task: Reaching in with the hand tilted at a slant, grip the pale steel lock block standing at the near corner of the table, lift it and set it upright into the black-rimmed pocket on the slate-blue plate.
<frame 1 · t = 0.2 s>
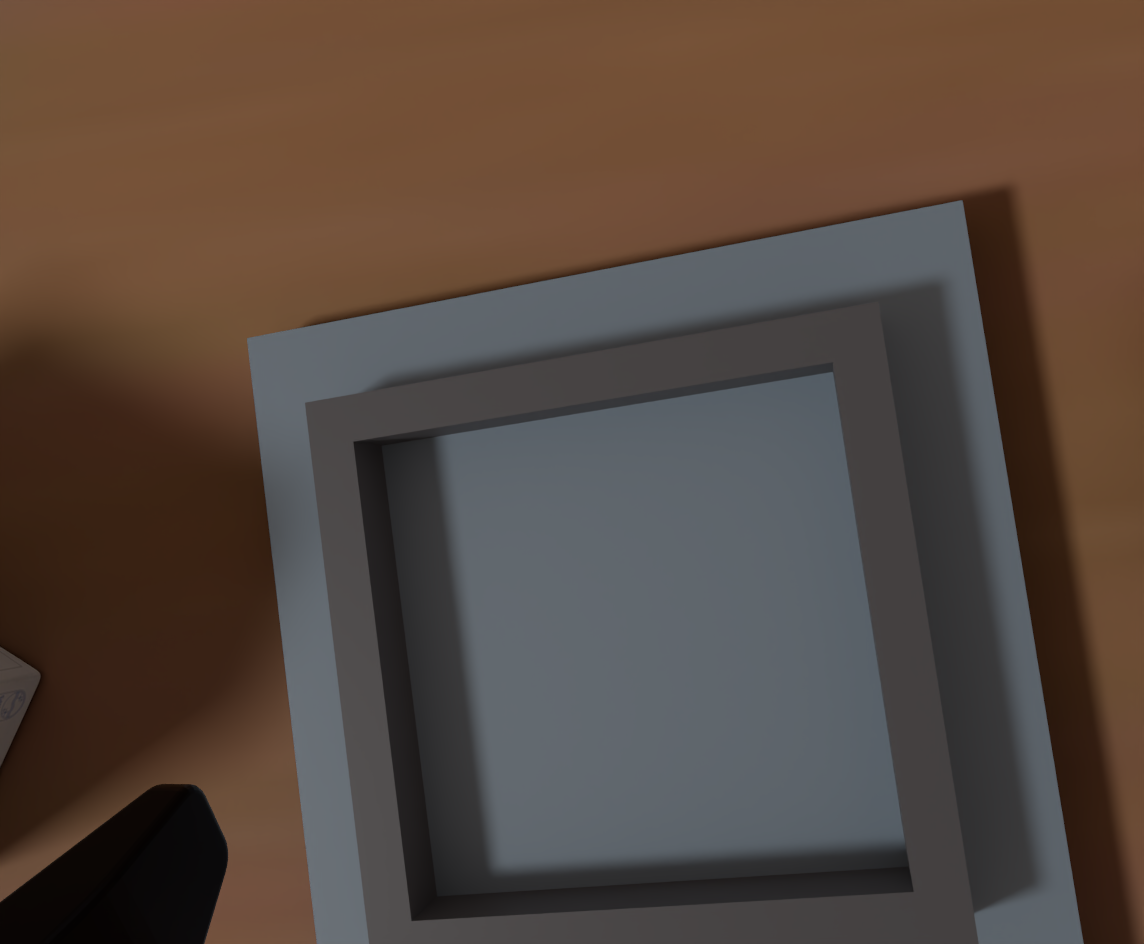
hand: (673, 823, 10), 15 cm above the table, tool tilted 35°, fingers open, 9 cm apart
dock: (638, 636, 24), on the table
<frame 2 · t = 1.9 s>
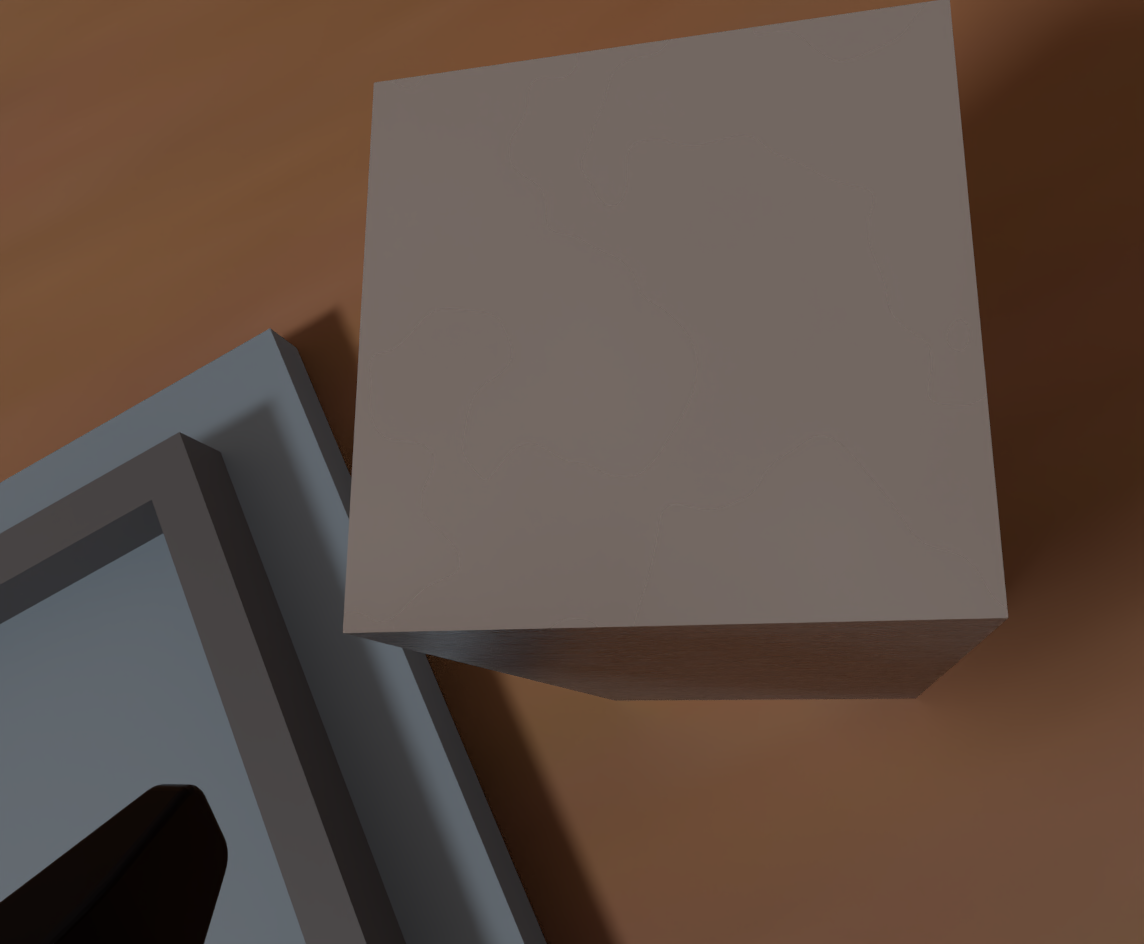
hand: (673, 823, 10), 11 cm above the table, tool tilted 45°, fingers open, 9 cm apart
lock block: (755, 552, 21), on the table
dock: (98, 849, 23), on the table
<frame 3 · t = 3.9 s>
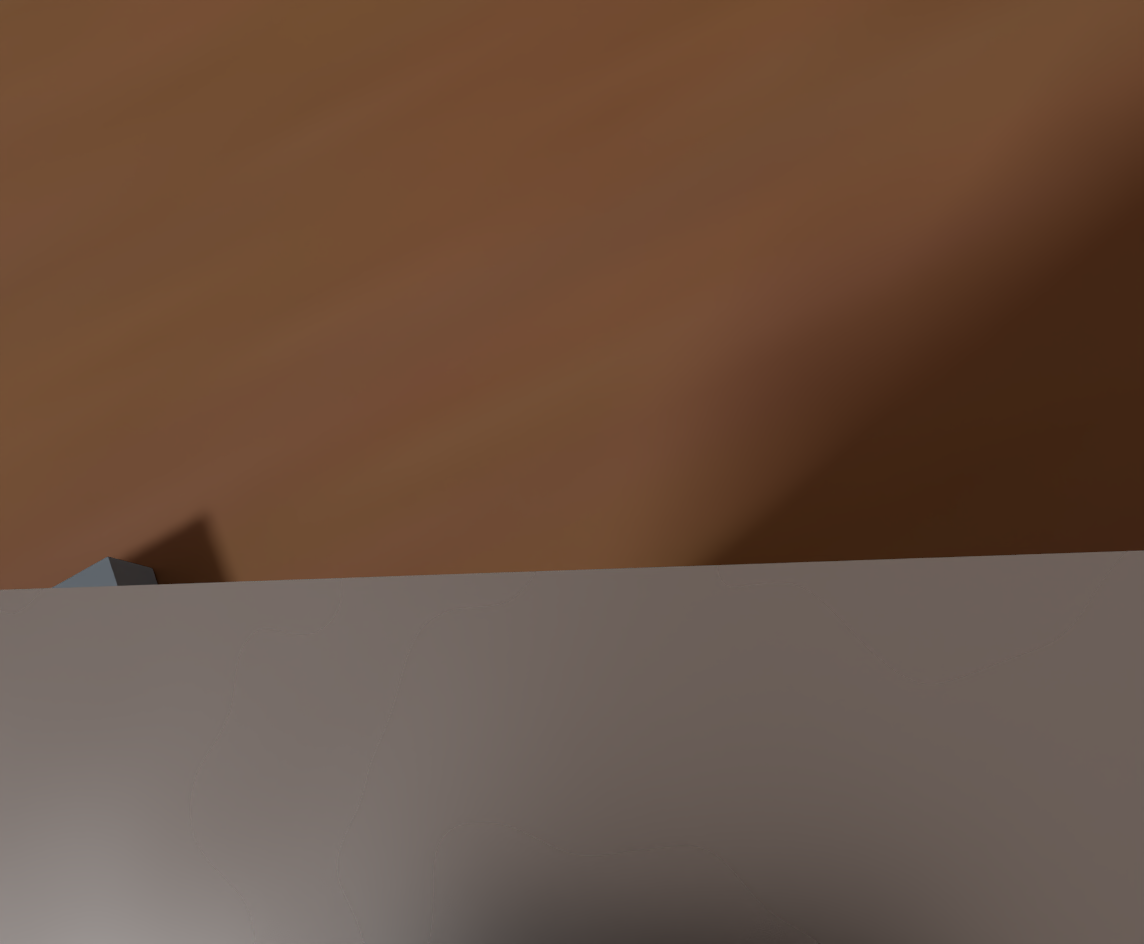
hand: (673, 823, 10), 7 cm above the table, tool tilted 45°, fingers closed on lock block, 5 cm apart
lock block: (745, 897, 15), on the table, touching gripper
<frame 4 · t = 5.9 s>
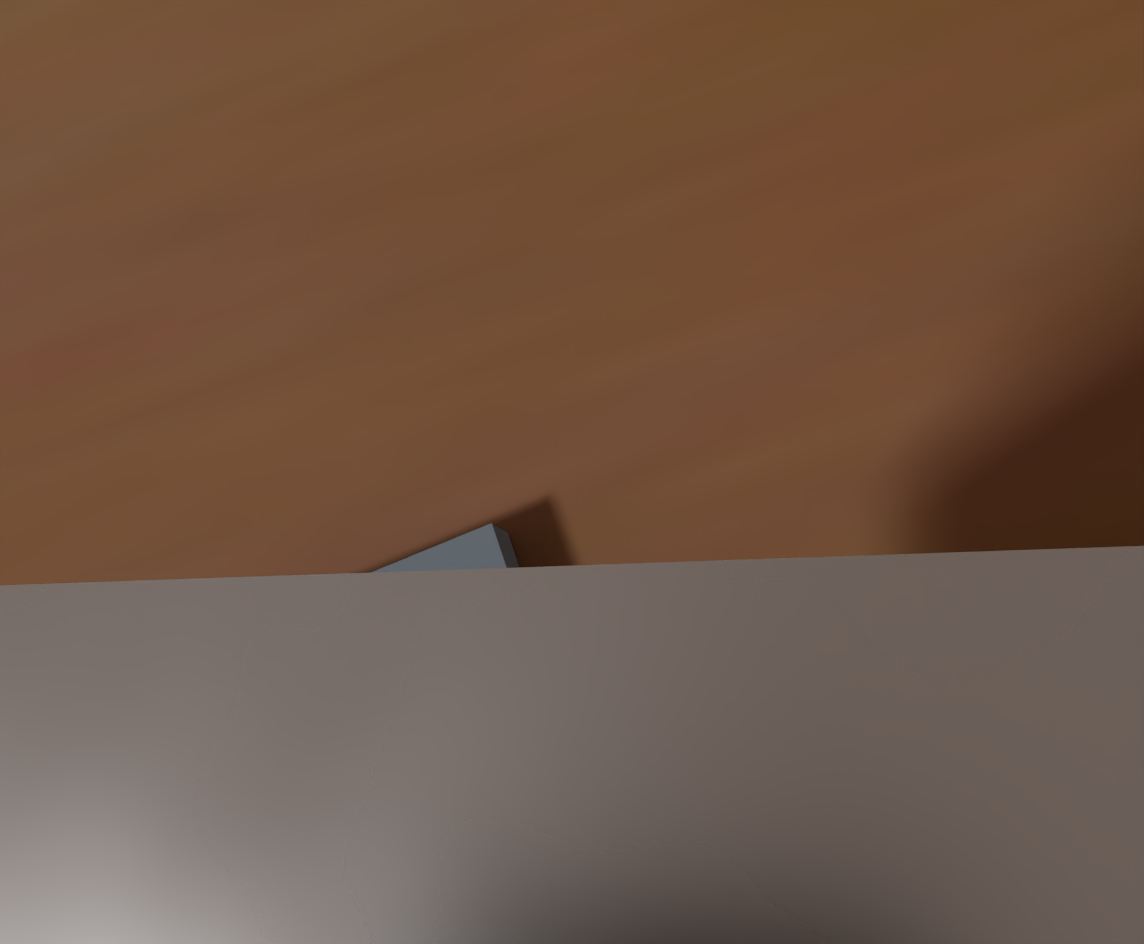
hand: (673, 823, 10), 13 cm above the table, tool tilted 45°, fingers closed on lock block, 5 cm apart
lock block: (747, 896, 15), point 7 cm above the table, touching gripper
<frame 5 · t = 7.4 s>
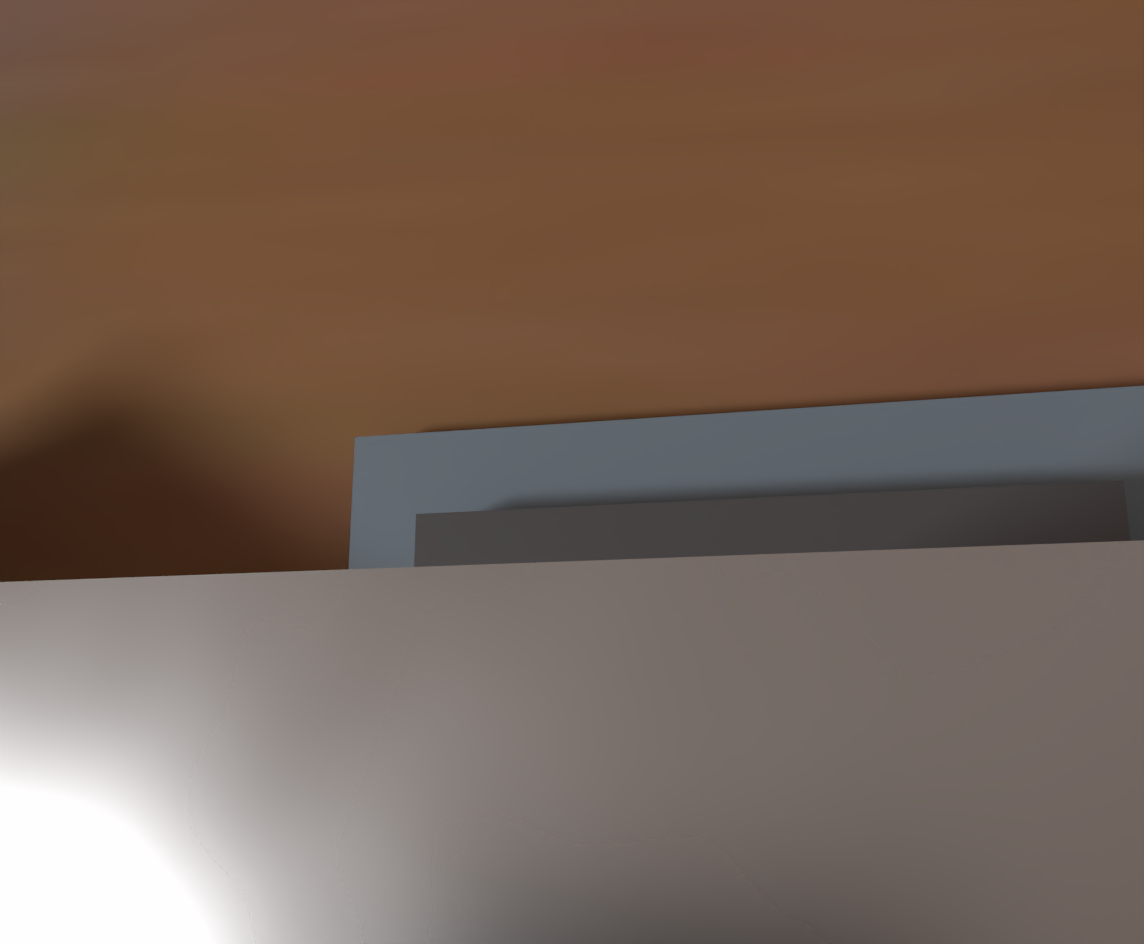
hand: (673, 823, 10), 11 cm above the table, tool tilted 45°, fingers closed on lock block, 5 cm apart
lock block: (745, 894, 15), point 5 cm above the table, touching gripper
dock: (768, 851, 20), on the table
when the fingers open (9 cm above the table, at t = 8.4 s): lock block stays where it is, resting on dock.
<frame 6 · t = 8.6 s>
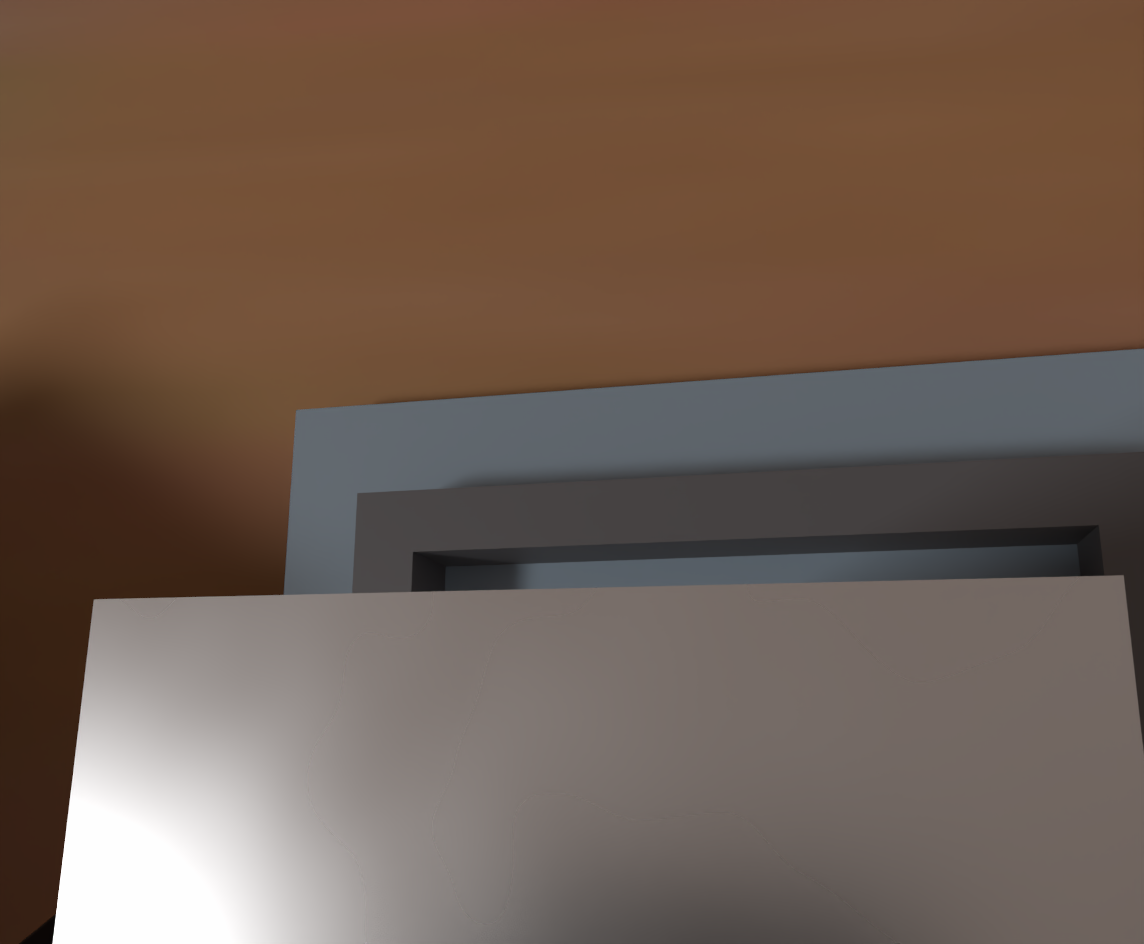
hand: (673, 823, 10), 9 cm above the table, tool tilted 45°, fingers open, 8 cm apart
lock block: (752, 887, 16), point 1 cm above the table, touching dock
dock: (757, 878, 18), on the table
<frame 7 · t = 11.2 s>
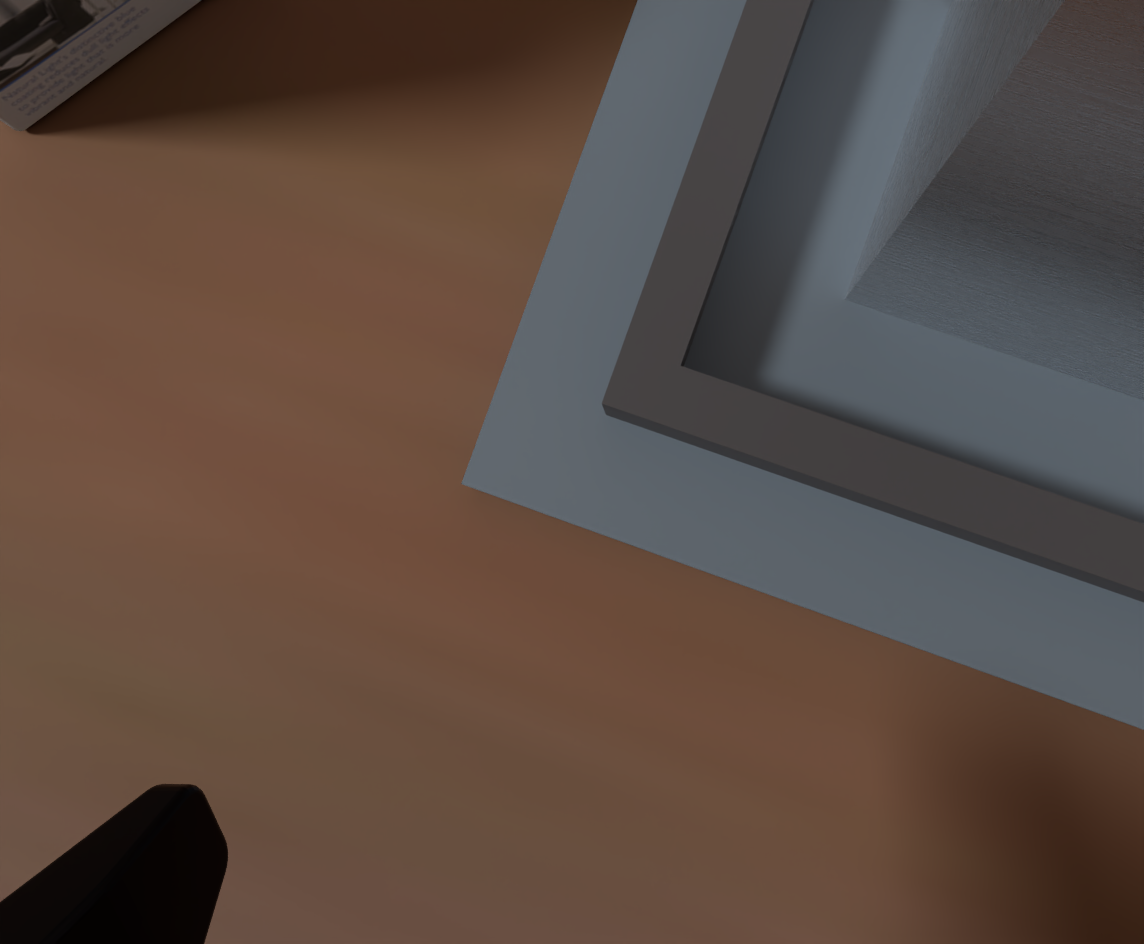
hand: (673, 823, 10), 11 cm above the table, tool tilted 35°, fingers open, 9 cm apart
lock block: (1050, 203, 19), point 1 cm above the table, touching dock
dock: (1026, 223, 20), on the table
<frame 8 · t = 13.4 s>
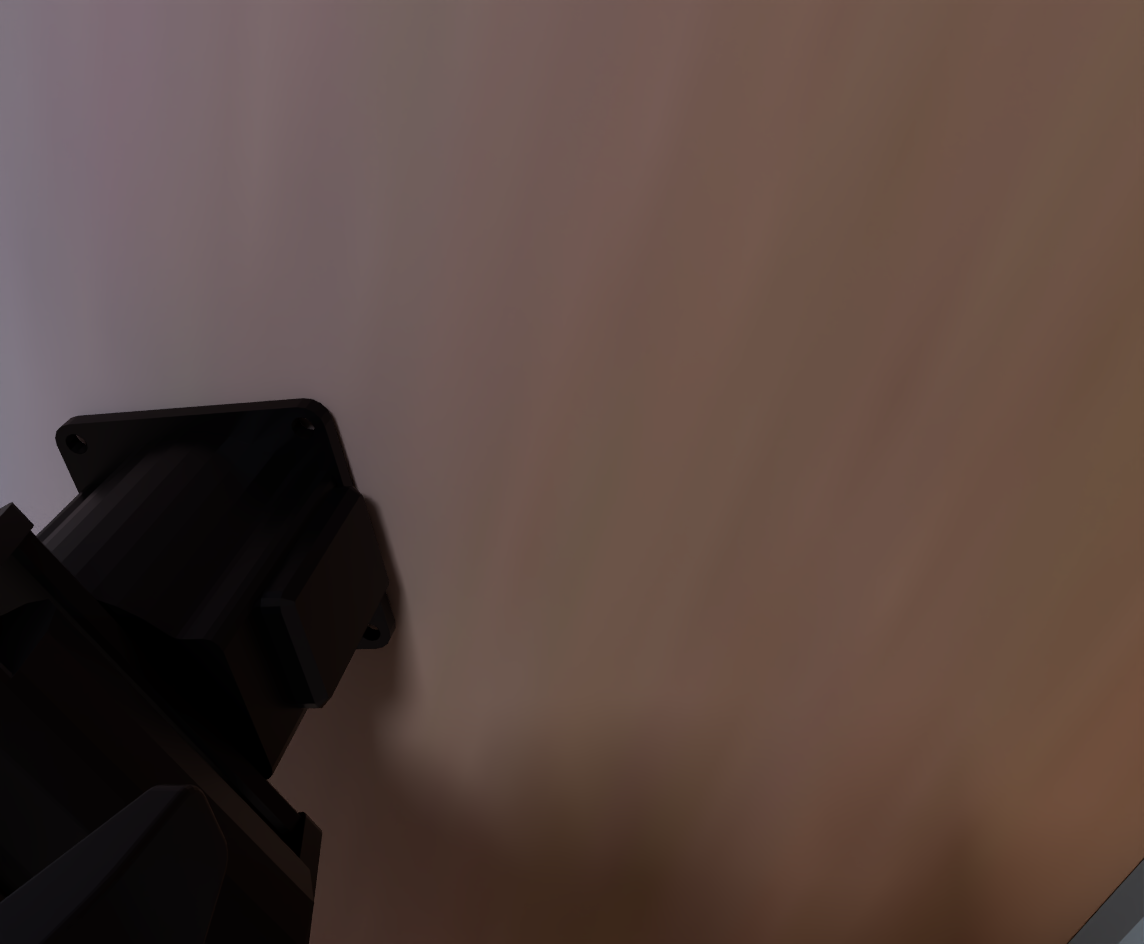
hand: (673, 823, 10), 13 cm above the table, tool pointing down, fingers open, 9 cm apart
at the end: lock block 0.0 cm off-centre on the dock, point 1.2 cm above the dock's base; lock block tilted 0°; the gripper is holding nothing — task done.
